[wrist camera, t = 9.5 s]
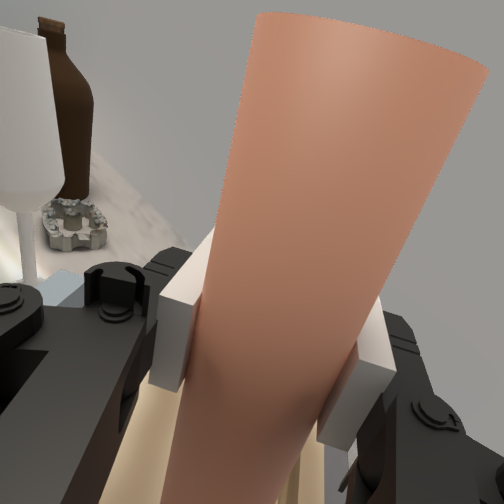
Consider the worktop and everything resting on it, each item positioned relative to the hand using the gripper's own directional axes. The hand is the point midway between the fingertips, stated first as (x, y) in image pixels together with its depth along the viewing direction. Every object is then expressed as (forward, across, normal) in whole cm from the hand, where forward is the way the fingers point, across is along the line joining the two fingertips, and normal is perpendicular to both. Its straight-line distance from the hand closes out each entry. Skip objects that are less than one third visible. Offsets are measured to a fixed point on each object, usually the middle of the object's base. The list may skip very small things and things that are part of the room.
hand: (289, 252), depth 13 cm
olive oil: (+37, -39, -20) cm, 58 cm away
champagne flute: (+13, -24, -20) cm, 34 cm away
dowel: (-5, 0, -10) cm, 11 cm away
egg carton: (+27, -29, -20) cm, 44 cm away
